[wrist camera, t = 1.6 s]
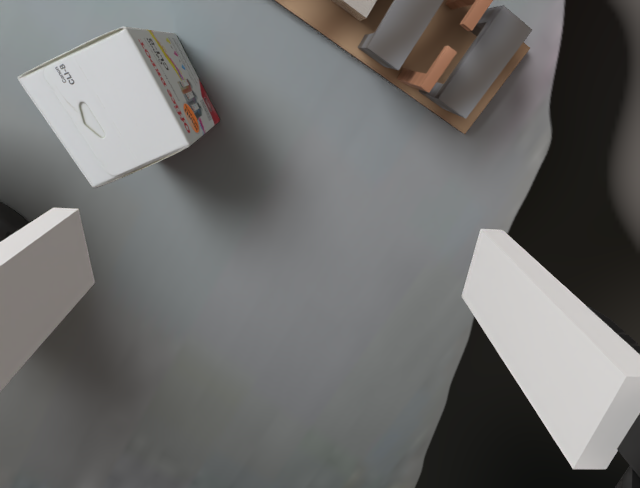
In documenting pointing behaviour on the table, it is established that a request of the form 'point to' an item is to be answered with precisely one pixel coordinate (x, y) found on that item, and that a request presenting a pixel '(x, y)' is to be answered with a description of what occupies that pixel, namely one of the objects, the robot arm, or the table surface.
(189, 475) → the table surface
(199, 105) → the ink box
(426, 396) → the table surface
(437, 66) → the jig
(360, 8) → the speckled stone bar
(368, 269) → the table surface
